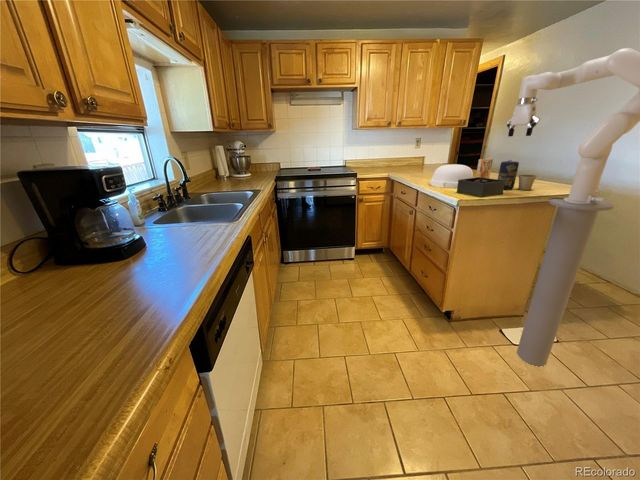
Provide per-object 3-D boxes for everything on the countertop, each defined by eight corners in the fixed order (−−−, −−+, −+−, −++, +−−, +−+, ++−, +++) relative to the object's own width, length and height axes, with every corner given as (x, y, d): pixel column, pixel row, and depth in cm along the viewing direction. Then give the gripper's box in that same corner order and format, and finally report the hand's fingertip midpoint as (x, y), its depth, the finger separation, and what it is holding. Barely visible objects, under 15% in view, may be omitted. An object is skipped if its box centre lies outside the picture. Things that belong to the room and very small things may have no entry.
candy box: (486, 178, 212) (489, 158, 207) (489, 179, 208) (493, 158, 203) (475, 178, 212) (478, 159, 207) (478, 179, 208) (481, 159, 203)
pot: (488, 191, 161) (490, 179, 158) (480, 193, 159) (482, 180, 156) (478, 190, 167) (480, 178, 164) (470, 191, 165) (472, 179, 162)
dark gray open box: (502, 193, 158) (505, 180, 155) (481, 197, 152) (483, 183, 150) (476, 189, 174) (478, 177, 171) (456, 192, 168) (458, 179, 165)
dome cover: (439, 180, 215) (442, 162, 210) (480, 182, 195) (484, 163, 190) (421, 185, 195) (423, 166, 190) (465, 189, 174) (468, 167, 169)
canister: (497, 189, 170) (503, 160, 163) (494, 187, 178) (499, 159, 171) (515, 190, 166) (521, 160, 160) (511, 187, 174) (517, 159, 168)
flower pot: (531, 191, 161) (535, 177, 158) (513, 189, 168) (516, 176, 165) (535, 189, 167) (539, 175, 164) (517, 187, 173) (520, 174, 170)
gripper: (548, 99, 137) (540, 135, 143) (514, 104, 152) (508, 136, 158) (539, 99, 134) (531, 135, 140) (505, 104, 149) (499, 136, 156)
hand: (519, 136), depth 149 cm, fingers open, 9 cm apart
